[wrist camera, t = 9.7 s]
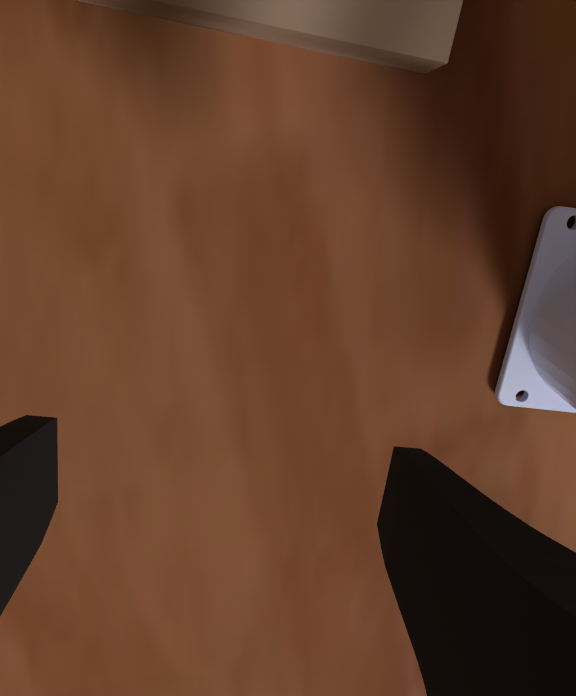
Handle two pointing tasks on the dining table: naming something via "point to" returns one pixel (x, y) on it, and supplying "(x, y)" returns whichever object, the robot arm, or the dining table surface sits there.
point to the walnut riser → (326, 25)
